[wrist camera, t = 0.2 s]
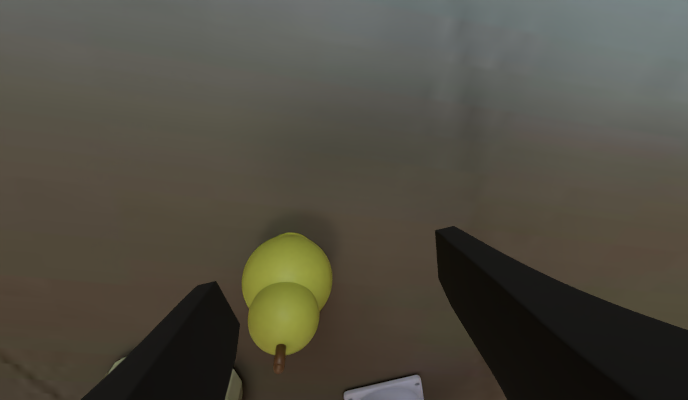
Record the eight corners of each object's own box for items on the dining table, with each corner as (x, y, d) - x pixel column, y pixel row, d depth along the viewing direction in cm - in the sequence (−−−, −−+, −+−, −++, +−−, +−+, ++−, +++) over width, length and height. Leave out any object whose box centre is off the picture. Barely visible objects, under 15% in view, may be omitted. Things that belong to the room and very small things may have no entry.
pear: (337, 270, 22) (351, 393, 14) (266, 287, 22) (240, 419, 14) (319, 209, 19) (324, 316, 11) (239, 228, 19) (189, 347, 11)
